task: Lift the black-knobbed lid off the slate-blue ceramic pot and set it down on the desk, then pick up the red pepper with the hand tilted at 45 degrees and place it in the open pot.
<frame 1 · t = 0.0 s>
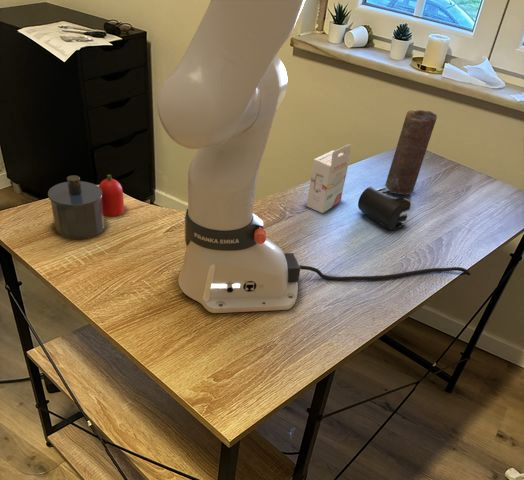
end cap: (379, 222, 125), on the table
ink cartridge box: (322, 205, 129), on the table
pepper: (112, 210, 116), on the table
pot: (80, 226, 110), on the table
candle: (397, 192, 138), on the table
pot lid: (75, 195, 105), point 7 cm above the table, touching pot
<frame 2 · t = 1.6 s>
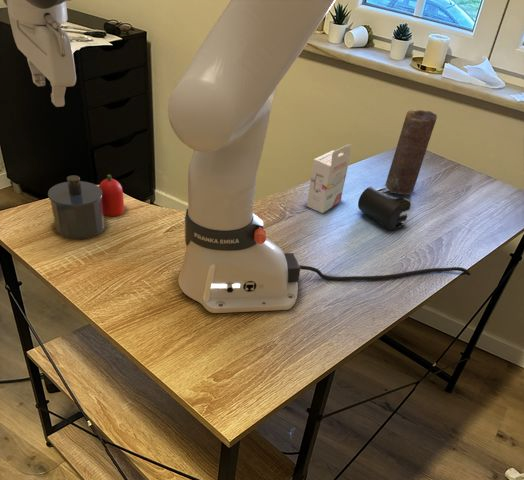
hand: (48, 94, 95), 25 cm above the table, tool pointing down, fingers open, 8 cm apart
nothing on the table moved.
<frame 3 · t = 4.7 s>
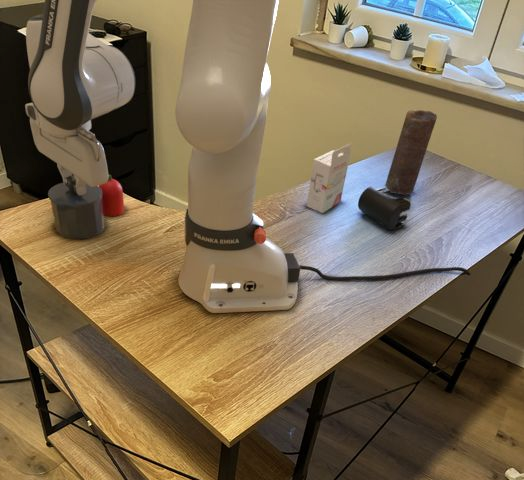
hand: (75, 189, 104), 8 cm above the table, tool pointing down, fingers closed on pot lid, 2 cm apart
pot lid: (75, 195, 105), point 7 cm above the table, touching gripper, pot
everything else where it was.
when the fingers open (2 cm above the table, at t = 13.2 s): pot lid stays where it is, point 1 cm above the table.
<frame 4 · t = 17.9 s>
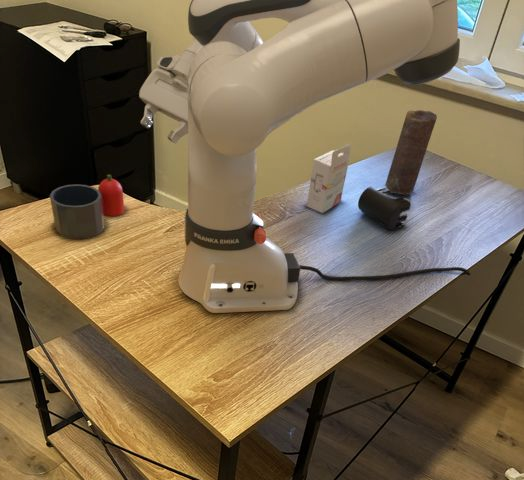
hand: (157, 133, 113), 14 cm above the table, tool tilted 45°, fingers open, 8 cm apart
pot lid: (222, 198, 124), point 1 cm above the table
everything else where it was.
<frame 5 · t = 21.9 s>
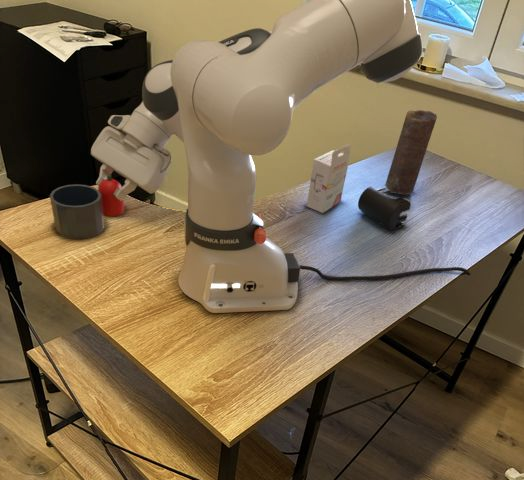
hand: (108, 192, 113), 4 cm above the table, tool tilted 45°, fingers closed on pepper, 5 cm apart
pepper: (112, 210, 116), on the table, touching gripper
everything else where it was.
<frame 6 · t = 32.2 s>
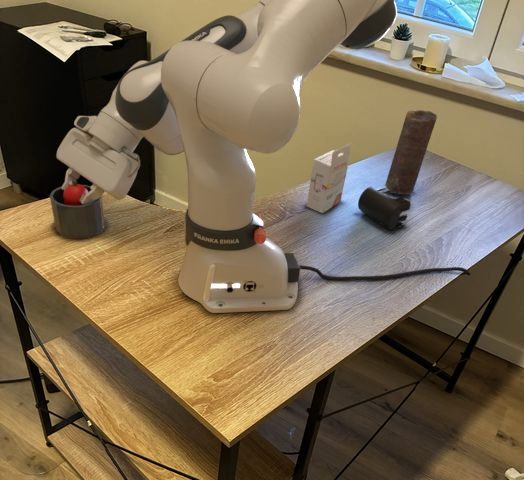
hand: (74, 198, 105), 6 cm above the table, tool tilted 45°, fingers closed on pepper, 5 cm apart
pepper: (79, 217, 108), point 2 cm above the table, touching gripper
everything else where it was.
when the fingers open (8 cm above the table, at t = 37.2 s): pepper drops 2 cm, resting on pot.
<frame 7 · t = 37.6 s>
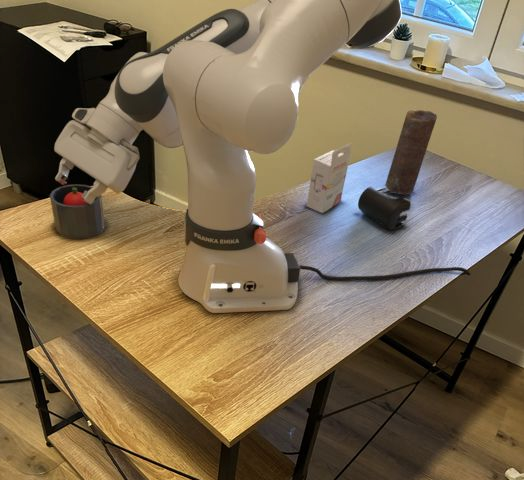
hand: (72, 191, 104), 8 cm above the table, tool tilted 45°, fingers open, 8 cm apart
pepper: (79, 225, 109), resting on pot
everything else where it was.
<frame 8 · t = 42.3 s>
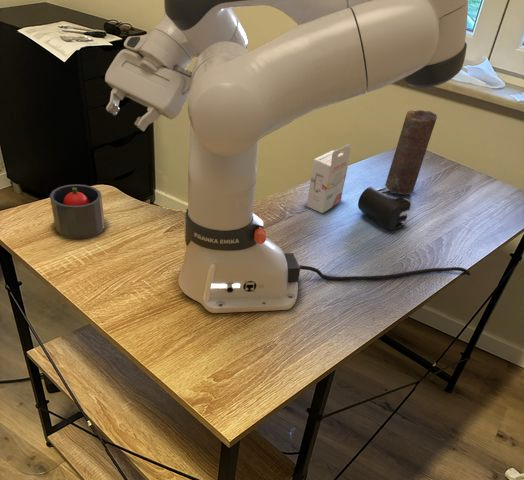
hand: (124, 120, 104), 19 cm above the table, tool tilted 45°, fingers open, 8 cm apart
nothing on the table moved.
at the end: pot lid inside the target area (0.3 cm from its centre), point 0.6 cm above the table; pepper 0.2 cm off-centre in the pot, point 0.5 cm above the pot's base; the gripper is holding nothing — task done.
